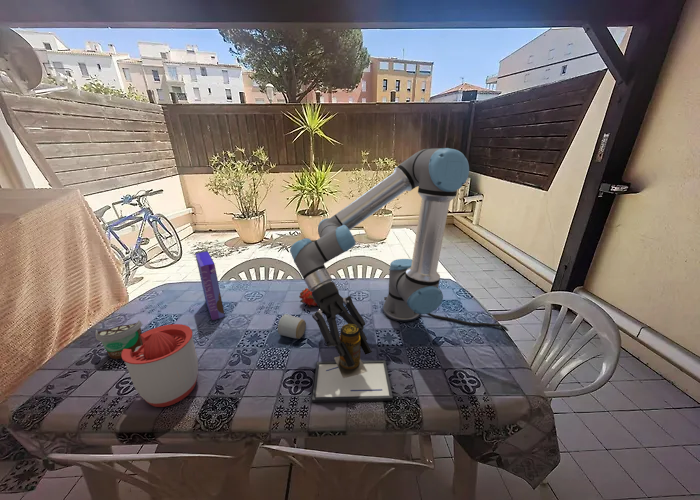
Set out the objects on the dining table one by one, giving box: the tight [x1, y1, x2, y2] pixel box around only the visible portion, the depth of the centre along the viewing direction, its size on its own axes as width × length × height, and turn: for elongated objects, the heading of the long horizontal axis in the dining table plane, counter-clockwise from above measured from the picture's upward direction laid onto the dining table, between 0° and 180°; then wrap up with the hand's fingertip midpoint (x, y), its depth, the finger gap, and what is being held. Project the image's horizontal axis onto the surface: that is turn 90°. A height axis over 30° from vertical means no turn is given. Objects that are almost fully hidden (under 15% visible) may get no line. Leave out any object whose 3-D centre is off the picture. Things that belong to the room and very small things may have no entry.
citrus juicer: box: [121, 323, 199, 408], centre depth 74 cm, size 16×17×20 cm
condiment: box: [333, 323, 367, 378], centre depth 77 cm, size 7×8×12 cm
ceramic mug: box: [277, 313, 307, 339], centre depth 100 cm, size 11×8×8 cm
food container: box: [95, 319, 143, 360], centre depth 89 cm, size 12×6×10 cm, turn 117°
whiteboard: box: [311, 359, 394, 403], centre depth 80 cm, size 22×14×1 cm, turn 91°
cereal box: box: [194, 250, 226, 322], centre depth 112 cm, size 17×5×24 cm, turn 34°
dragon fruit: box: [298, 287, 318, 308], centre depth 119 cm, size 8×8×12 cm
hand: (360, 359), depth 75 cm, fingers closed on condiment, 6 cm apart
